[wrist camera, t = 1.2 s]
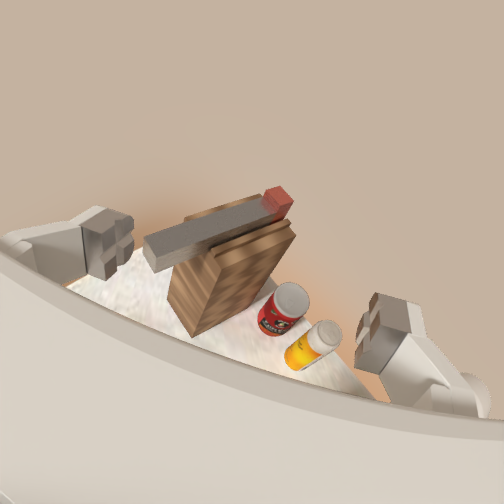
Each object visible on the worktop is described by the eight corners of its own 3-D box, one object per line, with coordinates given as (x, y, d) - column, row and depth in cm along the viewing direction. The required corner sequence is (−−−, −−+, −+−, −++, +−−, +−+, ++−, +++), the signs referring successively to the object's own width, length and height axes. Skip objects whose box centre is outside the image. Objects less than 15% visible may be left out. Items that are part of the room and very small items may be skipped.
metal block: (154, 273, 40) (157, 250, 36) (142, 253, 41) (144, 229, 37) (281, 221, 53) (294, 201, 49) (269, 207, 54) (280, 185, 50)
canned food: (253, 331, 68) (271, 309, 60) (260, 301, 74) (278, 276, 65) (285, 342, 69) (307, 321, 61) (290, 312, 74) (311, 289, 66)
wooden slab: (191, 338, 63) (223, 265, 43) (166, 299, 66) (185, 212, 46) (247, 307, 72) (298, 231, 51) (222, 273, 75) (261, 189, 55)
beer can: (298, 342, 70) (332, 313, 59) (312, 364, 68) (349, 339, 57) (277, 353, 67) (309, 325, 56) (292, 376, 65) (327, 353, 53)
